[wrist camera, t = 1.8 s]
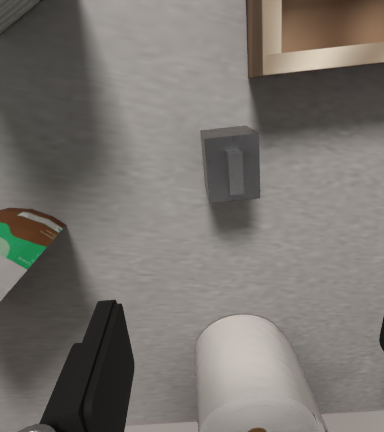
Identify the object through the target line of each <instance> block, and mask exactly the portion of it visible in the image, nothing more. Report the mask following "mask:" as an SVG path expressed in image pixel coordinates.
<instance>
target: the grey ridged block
mask: <svg viewBox="0 0 384 432" xmlns="http://www.w3.org/2000/svg"><path fill="white" fill-rule="evenodd" d="M201 142H202V153H203V165H204V176H205V186H206V191H207V195H208V200H209V203H217V202H227V201H237V200H247V199H256V198H260V166H259V133H258V132H256V131H255V130H253V129H251V128H249V127H248V126H238V127H229V128H219V129H210V130H201Z"/></svg>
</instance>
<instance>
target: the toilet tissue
mask: <svg viewBox="0 0 384 432" xmlns="http://www.w3.org/2000/svg"><path fill="white" fill-rule="evenodd" d="M195 360H196V361H195V365H196V385H197V409H198V421H197V422H198V432H318V427H317V422H316V418H315V416H316V417H317V418H318V420H319V421H320V422H321V423H322V424H323V427H324V429H325V432H328V430H327V428H326V425H325V423H324V420H323V418H322V416H321V413H320V411H319V409H318V406H317V403H316V401H315V399H314V397H313V394H312V392H311V390H310V387H309V385H308V382H307V380H306V378H305V375H304V373H303V370H302V368H301V366H300V363H299V361H298V358H297V356H296V355H295V353H294V351H293V348H292V347H291V345H290V344H289V342H288V341H287V339H286V338H285V337H284V336H283V335H282V333H281V332H280V331H279V329H278V328H277V327H276V326H275V325H274V324H272V323H271V322H269V321H268V320H266V319H263V318H261V317H258V316H253V315H234V316H229V317H226V318H222V319H220V320H218V321H216V322H214V323H213V324H211V325H210V326H208V327H207V328H206V329H205V330H204V331H203V332H202V334H201V335H200V337H199V338H198V341H197V344H196V349H195Z"/></svg>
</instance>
